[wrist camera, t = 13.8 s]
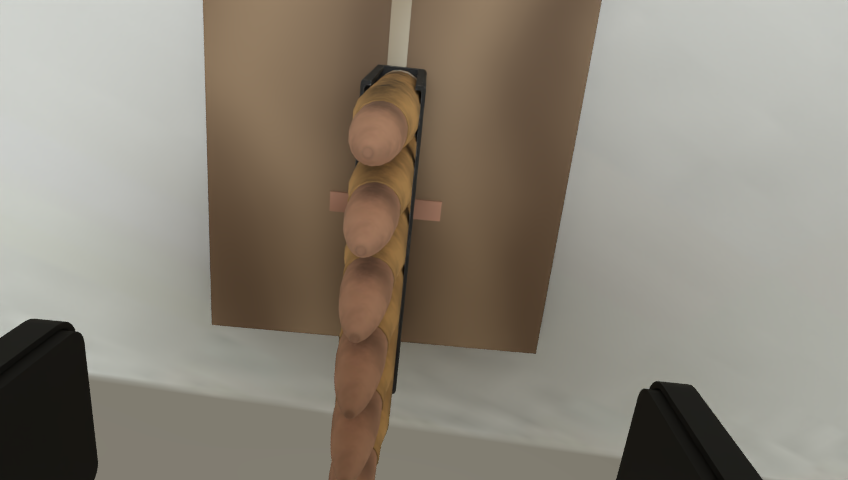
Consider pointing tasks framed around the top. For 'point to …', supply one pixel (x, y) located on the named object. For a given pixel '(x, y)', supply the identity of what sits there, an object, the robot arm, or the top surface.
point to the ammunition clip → (375, 263)
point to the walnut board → (437, 170)
